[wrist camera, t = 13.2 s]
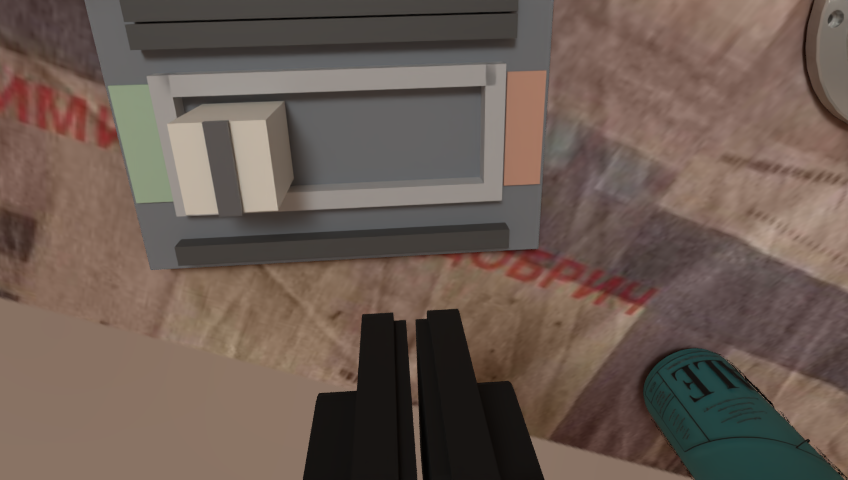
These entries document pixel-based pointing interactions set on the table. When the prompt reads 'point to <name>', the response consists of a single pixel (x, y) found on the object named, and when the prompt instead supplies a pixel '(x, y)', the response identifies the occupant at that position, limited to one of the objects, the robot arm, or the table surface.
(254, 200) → the toggle
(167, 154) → the panel
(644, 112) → the table surface
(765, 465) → the beverage bottle
